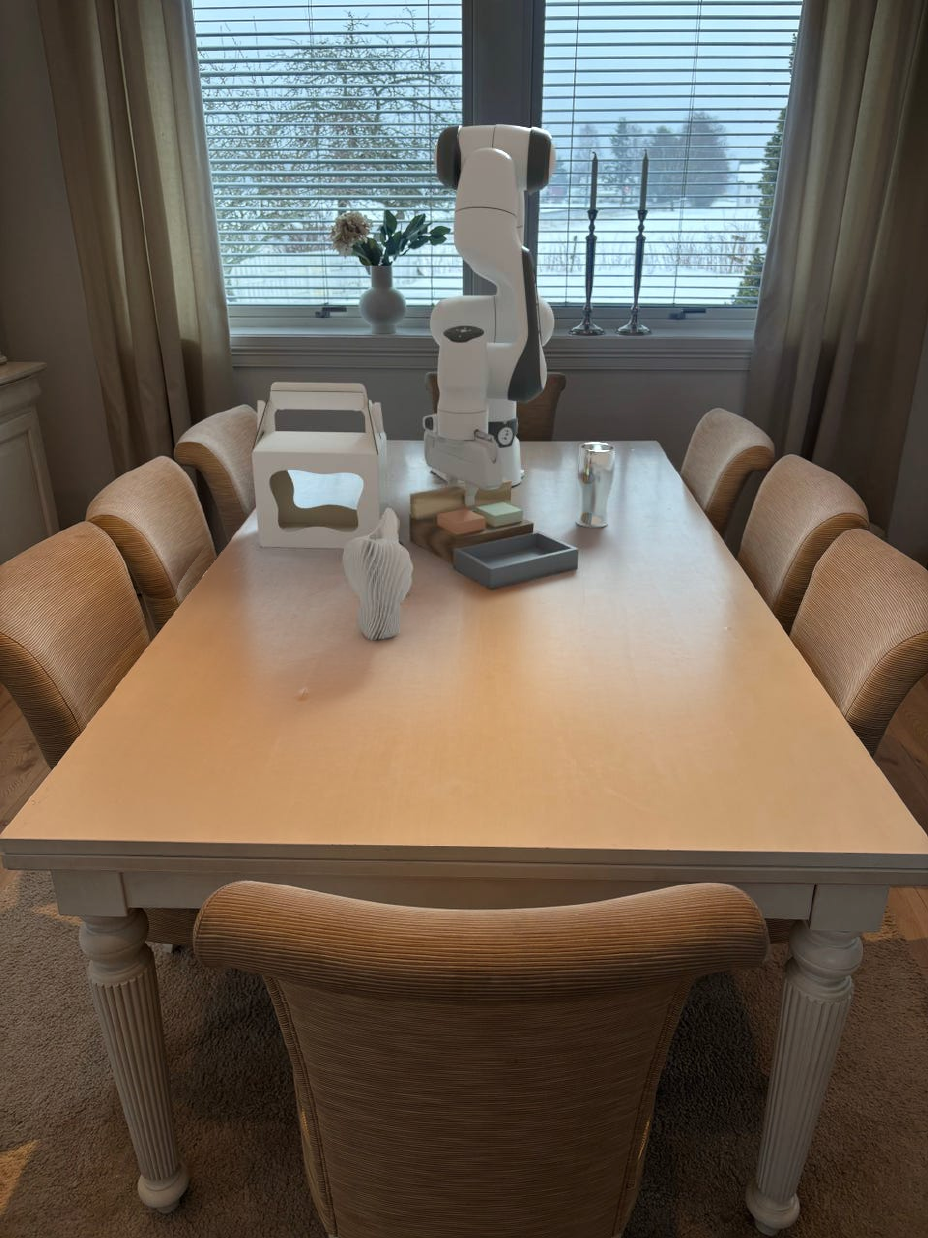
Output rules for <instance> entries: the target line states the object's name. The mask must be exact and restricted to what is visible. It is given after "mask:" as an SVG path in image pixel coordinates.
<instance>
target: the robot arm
mask: <svg viewBox="0 0 928 1238" xmlns="http://www.w3.org/2000/svg"><path fill="white" fill-rule="evenodd" d="M556 154H557V153H556V148H555V145H554V142H553V136H552V135H551V134H550V132H549V131H547V130H545V129H542V128H539V127H536V126H531V128H528V127H524V126H520V125H513V124H512V125H511V124H499V123H497V124H496V123H495V124H494V125H492V124H491V125H490V124H489V125H488V124H487V125H484V124H483V125H470V126H468V125H467V126H462V125H461V124H460V125H453V126H449V127H446V128H444V129H443V130H442V131H441V132H440V134H439V135H438V139H437V141H436V144H435V148H434V151H433V164H434V169H435V172H436V175H437V179H438V181H439V182H440V183H441V184H442V185H443V186H444V187H446V188H448V189H452V190H454V191H456V195H455V203H454V212H453V213H454V215H453V241H454V247H455V249H456V252H457V253H458V255H459V257H461V259H462V260H463V261H464V262H465V263H466V264H467V265H468V266H469V267H470V269H471V270H472V271H473V272H474V273H475V274H476V275H478V276H479V277H481V278H483V279H485V280H486V281H489V282H491V283H492V284H494V285H495V286H496V293H495V294H492V295H458V296H452V297H447V298H443V299H440V300H439V301H438V302H437V303H436V304H435V305H434V307H433V309H432V312H431V314H430V318H429V319H430V320H429V328H430V334H431V335H432V337H433V339H434V341H435V343H436V344H437V345H438V346H439V348H438V349H439V350H438V357H437V378H436V379H437V386H438V390H439V398H438V402H437V412H436V413H433V414H429V415H425V416H423V417H422V427H423V428H424V429H425V431H424V434H423V454H424V456H423V457H424V460H425V463H426V465H427V467H429V468H431V472H433V473H434V474H435V473H436V475H437V476H439V477H440V478H441V479H443V480H444V481H445V482H447V486H448V487H454V486H459V485H465V487H466V488H467V489H466V492H465V494H464V495H462V503H463V504H464V505H467V506H471V505H474V503H475V494H476V492H477V490H478V488H481V489H483V490H491V489H496V488H499V487H500V486H501V484H502V481H503V478H505V479H508V480H510V481H512V483H511V487H513V486H517V485H518V484H520V483H521V482H522V478H523V477H524V476H525V470H524V469H522V467H521V466H522V465H521V464H522V463H521V447H520V446H521V445H520V440H519V439H518V438H517V436H516V435H518V430H519V429H518V428H519V422H518V417H517V402H518V403H524V404H527V403H529V402H531V401H533V400H534V399H535V398H537V397H539V395H540V394H542V392H543V391H544V390H545V387H546V382H547V378H548V375H547V374H548V372H547V370H548V369H547V368H548V367H547V362H546V358H545V354H544V350H543V349H544V348H543V347H545V345H546V344H547V343H548V342H549V341H550V339H551V337H552V335H553V333H554V329H555V315H554V312H553V310H552V308H551V306H550V304H549V303H548V302H547V301H546V300H545V299H544V298H543V297H542V296H541V295H540V294H539V293H538V284H537V276H536V269H535V263H534V262H535V261H534V259H533V255H532V253H531V251H530V249H529V248H527V247H525V246H524V239H525V237H524V235H525V214H526V213H525V207H526V206H525V192H527V193H528V197H530V196H533V193H536V192H539V191H542V190H543V189H544V188H546V187H547V186H548V185H549V184H550V180H551V178H552V177H553V174H554V172H555V170H556V169H555V168H556V163H557V155H556Z"/></svg>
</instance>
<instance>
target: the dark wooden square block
mask: <svg viewBox="0 0 928 1238" xmlns="http://www.w3.org/2000/svg"><path fill="white" fill-rule="evenodd" d="M470 511H472V512H474V513H475V512H476V509H472V510H470ZM408 515H409V521H408V522H409V541H411V542H413V543H414V544H416V545H418V546H419V547H422V548H423V549H424V550H426V551H428V552H429V553H431V554H433V555H435V556H437V557H438V558H441V559H442V560H444V561H446V562H448V563H450V564H451V565H453V559H454V549H457V548H461V547H466V546H471V545H475V544H480V543H485V542H489V541H494V540H499V539H503V538H508V537H512V536H517V535H522V534H526V533H531V532H534V526H535V525H534V522H532V521H529V520H527V519H525V518H524V517H522V521H521V522H516V523H511V524H506V525H501V526H496V527H494V526H492V525H490V524H488V523H486V522H485V529H482V530H477V531H472V532H467V533H462V534H457V535H456V534H454V533H452V532H450V531H448V530H446V529H444V528H442V527H440V526H438V525H437V516H435V517H430V518H424V519H419V520H417V519H415V518H413V517H411V516H410V513H409V514H408Z"/></svg>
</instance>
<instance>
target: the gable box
mask: <svg viewBox="0 0 928 1238" xmlns="http://www.w3.org/2000/svg"><path fill="white" fill-rule="evenodd" d="M381 405H382V404H381V402H380V401H375V402H374V403H373V402H372V400H371V399H369V398H368V392H367V389H366V386H365V385H364V384H363V383H361V382H360V383H359V382H318V381H317V382H314V381H313V382H312V381H310V382H308V381H306V382H305V381H304V382H302V381H300V382H299V381H274V382H273V383H272V384H271V385H270V389H269V397H268V398H267V400H266V401H265V400H263V399H258V400H257V418H256V421H257V425H256V426H257V432H256V435H255V439H254V443H253V446H252V449H251V460H252V474H253V484H254V495H255V497H254V498H255V505H256V506H255V507H256V509H255V510H256V519H257V520H256V521H257V531H258V532H257V533H258V545H259V547H260V548H279V549H280V548H283V549H284V548H285V549H287V548H289V549H296V548H297V549H328V550H329V549H332V550H333V549H335V550H344V546H345V545H346V544H347V543H348V542H349V541H351V540H353V539H355V538H358V537H363V536H367V535H369V534H371V533H372V532H374V530H375V531H376V527H377V524H379V521H380V520H381V518H382V515H384V512H385V510H386V509H387V508H389V496H388V495H389V494H388V491H389V489H388V486H389V485H388V454H387V453H388V452H387V434H386V432H385V431H384V423H383V415H382V406H381ZM278 410H281V411H284V410H315V411H317V410H323V411H325V410H326V411H328V410H329V411H330V410H332V411H354V412H358V411H360V412H362V414H363V415H364V419H365V431H338V430H337V431H336V430H335V431H330V430H329V431H328V430H279V429H278V430H276V418H275V417H276V416H275V415H276V414H275V413H276V412H277V411H278ZM289 471H300V472H305V473H306V472H307V473H311V474H318V475H331V474H332V475H333V474H341V473H342V474H343V473H345V474H346V473H347V474H348V473H349V474H354V475H357V476H358V477H360V478H361V479H362V482H363V487H362V491H361V493H360V496H359V498H358V500H357V506H356V509H355V508H354V509H353V508H350V507H347V506H345V505H339V504H321V505H318V506H312V507H300V506H297V505H296V502H295V499H294V497H295V496H294V495H295V487H294V482H293V479H292V477H291V475H290V473H289ZM377 532H378V527H377V531H376V535H377ZM377 539H378V537H377Z"/></svg>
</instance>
